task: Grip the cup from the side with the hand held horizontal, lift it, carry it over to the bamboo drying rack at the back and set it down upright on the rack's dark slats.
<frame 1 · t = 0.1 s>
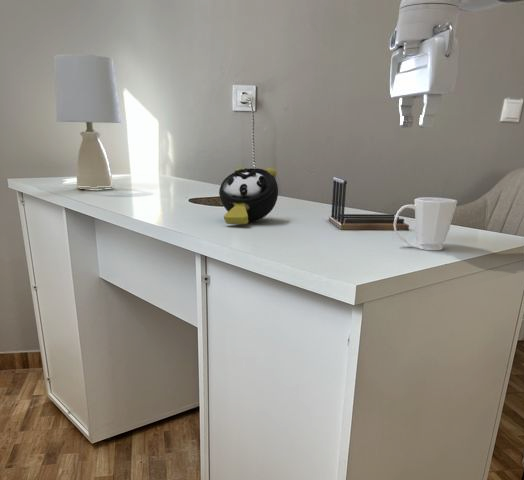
hand: (415, 127, 91), 19 cm above the table, tool pointing down, fingers open, 8 cm apart
lamp: (95, 189, 176), on the table
alarm clock: (247, 222, 119), on the table
cup: (420, 248, 96), on the table
rack: (367, 225, 117), on the table
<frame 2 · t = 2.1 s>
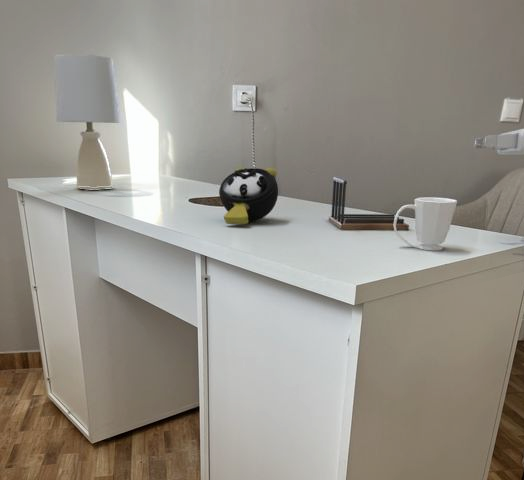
hand: (479, 142, 95), 17 cm above the table, tool horizontal, fingers open, 8 cm apart
nothing on the table moved.
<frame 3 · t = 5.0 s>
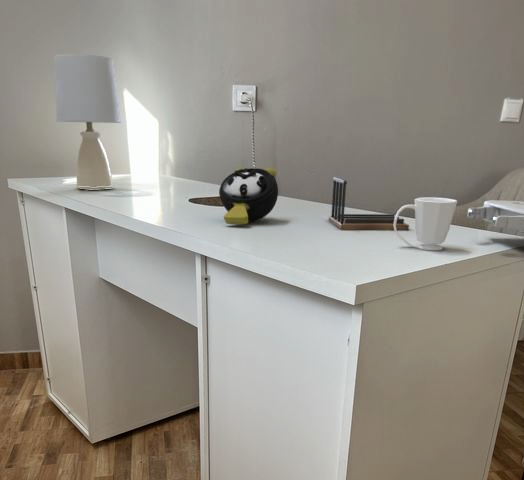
hand: (481, 217, 94), 5 cm above the table, tool horizontal, fingers open, 8 cm apart
nothing on the table moved.
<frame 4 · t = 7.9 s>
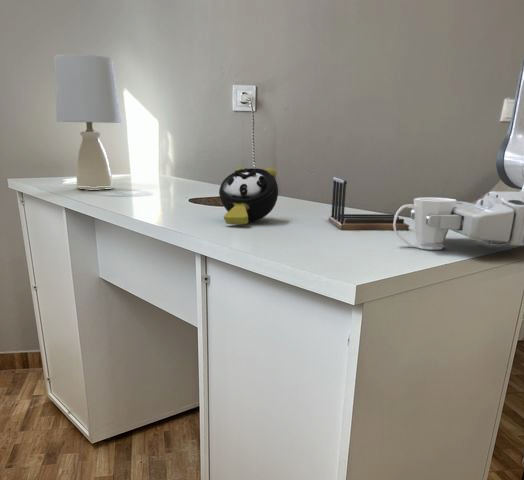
hand: (419, 217, 93), 5 cm above the table, tool horizontal, fingers closed on cup, 6 cm apart
cup: (420, 248, 96), on the table, touching gripper
everything else where it was.
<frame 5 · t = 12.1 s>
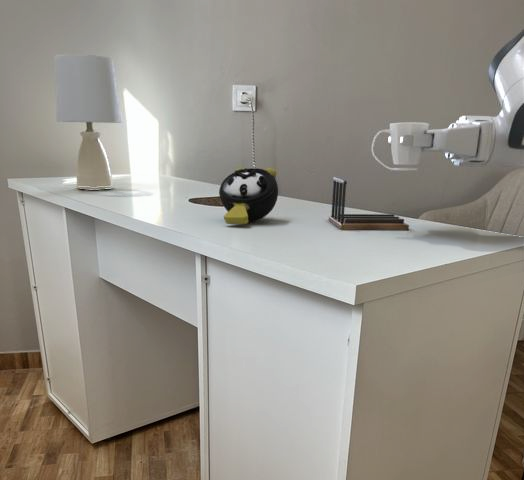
hand: (395, 140, 101), 17 cm above the table, tool horizontal, fingers closed on cup, 6 cm apart
cup: (397, 171, 104), point 12 cm above the table, touching gripper
everything else where it was.
when the fingers open (7 cm above the table, at t = 16.6 s): cup stays where it is, resting on rack.
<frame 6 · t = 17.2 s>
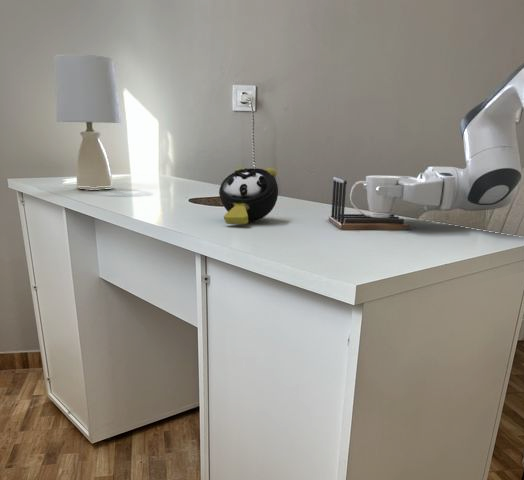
hand: (370, 188, 115), 8 cm above the table, tool horizontal, fingers open, 8 cm apart
cup: (372, 217, 117), point 2 cm above the table, touching rack
everything else where it was.
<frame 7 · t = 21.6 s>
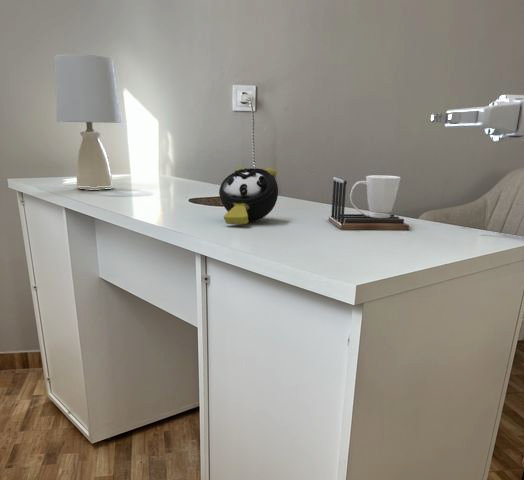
hand: (440, 117, 111), 21 cm above the table, tool horizontal, fingers open, 8 cm apart
nothing on the table moved.
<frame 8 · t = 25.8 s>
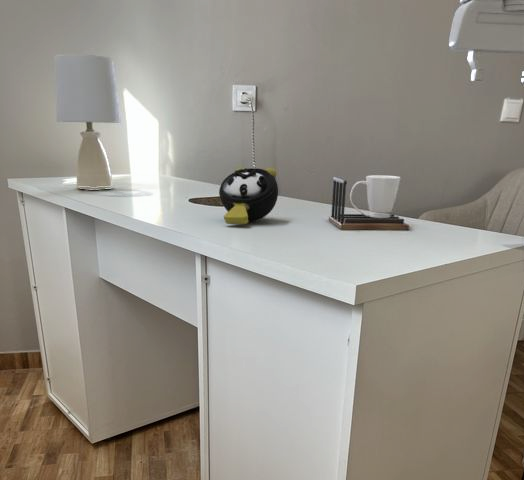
hand: (502, 81, 98), 27 cm above the table, tool pointing down, fingers open, 8 cm apart
nothing on the table moved.
at the end: cup inside the target area on the rack (0.2 cm from its centre), point 1.6 cm above the rack's base; cup tilted 0°; the gripper is holding nothing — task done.
